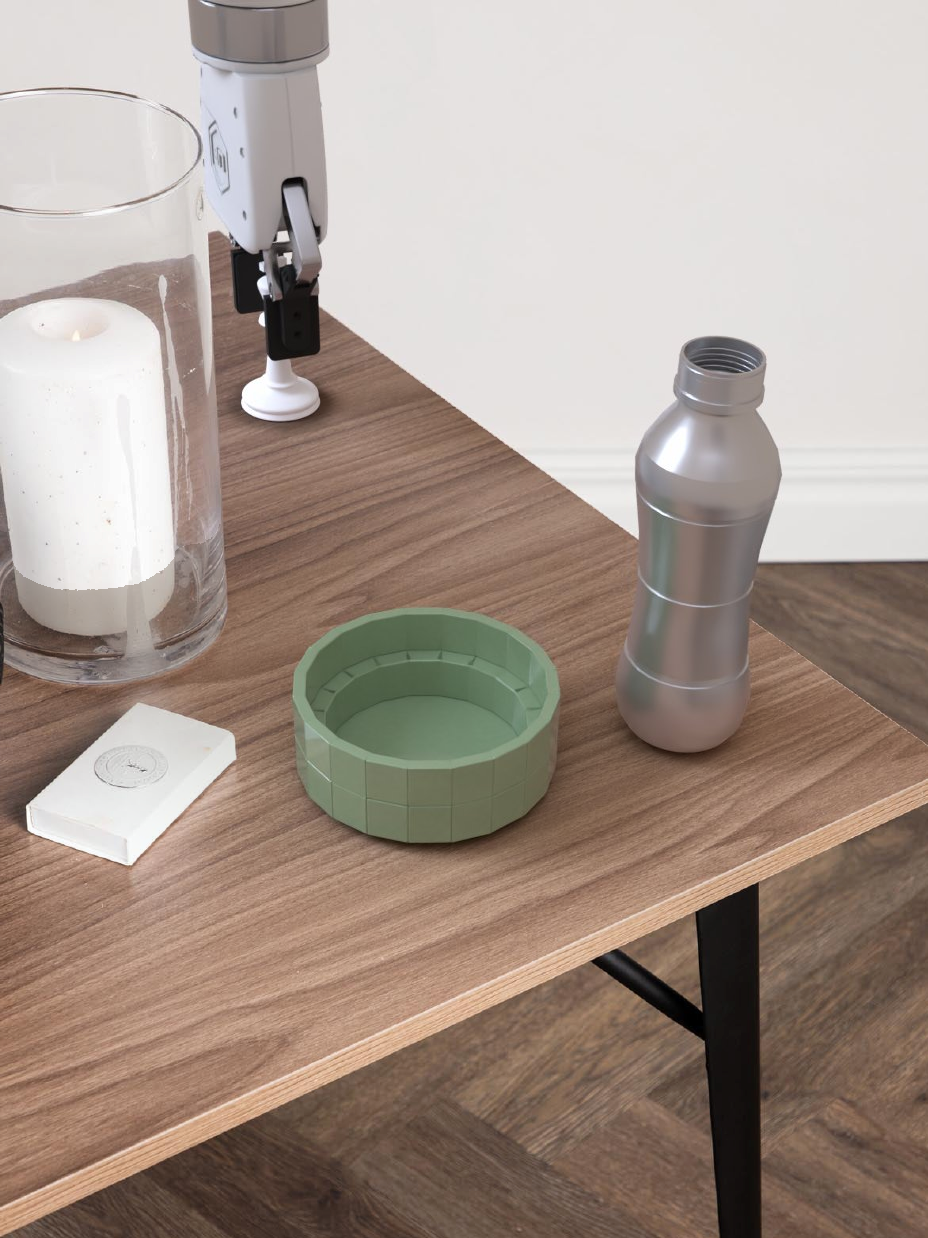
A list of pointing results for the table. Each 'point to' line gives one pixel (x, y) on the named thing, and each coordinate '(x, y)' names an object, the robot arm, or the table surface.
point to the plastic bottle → (698, 550)
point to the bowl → (426, 724)
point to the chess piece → (279, 383)
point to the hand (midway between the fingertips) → (276, 329)
